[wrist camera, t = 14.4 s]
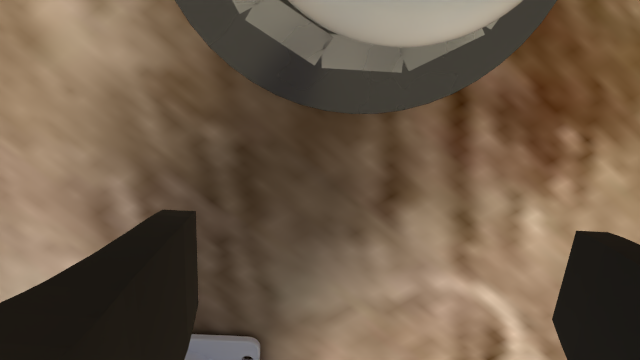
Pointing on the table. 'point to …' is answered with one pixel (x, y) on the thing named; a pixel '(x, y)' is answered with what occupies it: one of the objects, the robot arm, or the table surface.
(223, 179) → the table surface
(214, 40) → the lamp base
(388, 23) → the lightbulb
